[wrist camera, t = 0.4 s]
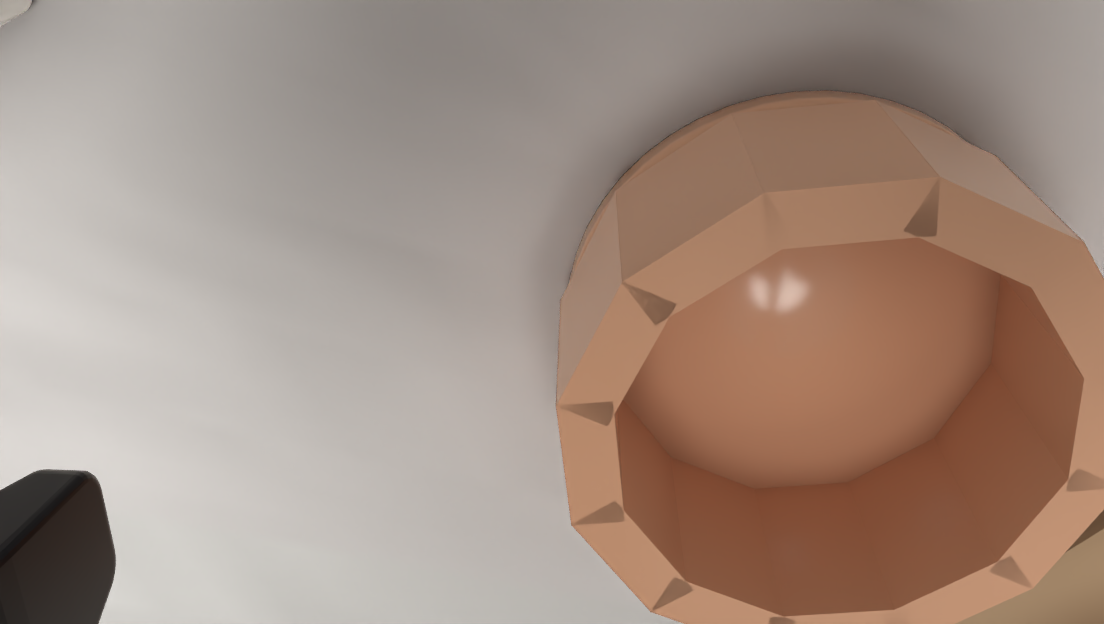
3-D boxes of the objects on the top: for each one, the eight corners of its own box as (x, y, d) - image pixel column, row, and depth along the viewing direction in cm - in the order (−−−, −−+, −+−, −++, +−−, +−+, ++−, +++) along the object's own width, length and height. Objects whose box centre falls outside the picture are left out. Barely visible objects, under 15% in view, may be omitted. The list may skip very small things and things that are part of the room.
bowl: (1004, 478, 25) (1095, 635, 20) (588, 507, 25) (589, 664, 21) (1055, 65, 20) (1187, 153, 16) (542, 116, 21) (530, 214, 16)
